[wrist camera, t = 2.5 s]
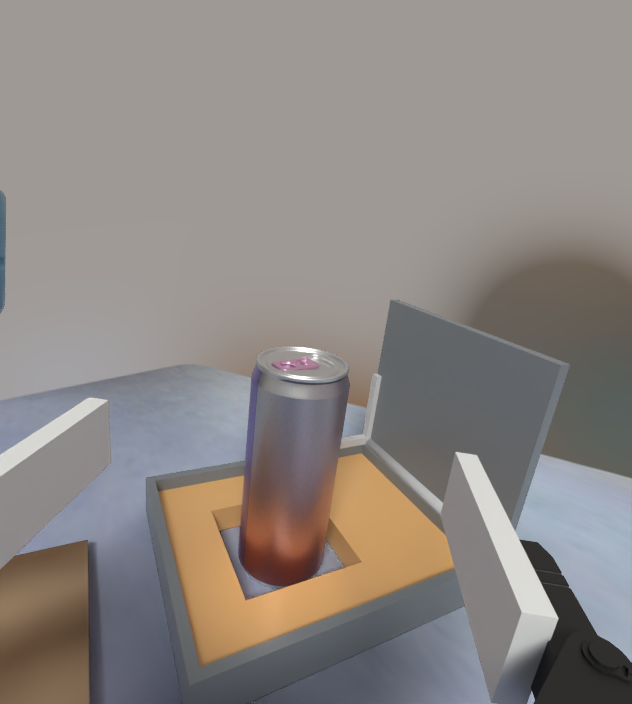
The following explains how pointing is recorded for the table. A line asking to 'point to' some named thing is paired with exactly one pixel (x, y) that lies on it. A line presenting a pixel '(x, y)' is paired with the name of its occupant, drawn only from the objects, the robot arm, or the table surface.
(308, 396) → the beverage can
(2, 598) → the walnut board
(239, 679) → the equipment case
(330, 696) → the table surface
